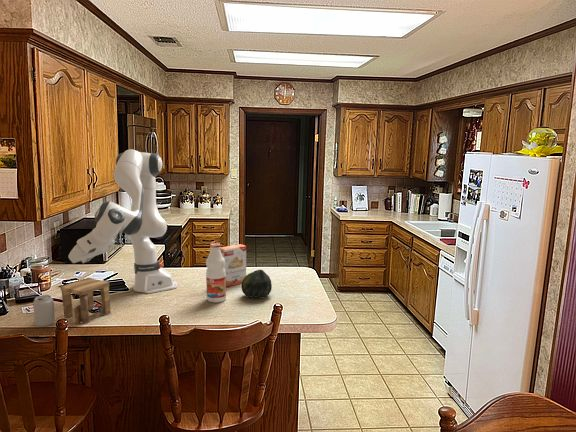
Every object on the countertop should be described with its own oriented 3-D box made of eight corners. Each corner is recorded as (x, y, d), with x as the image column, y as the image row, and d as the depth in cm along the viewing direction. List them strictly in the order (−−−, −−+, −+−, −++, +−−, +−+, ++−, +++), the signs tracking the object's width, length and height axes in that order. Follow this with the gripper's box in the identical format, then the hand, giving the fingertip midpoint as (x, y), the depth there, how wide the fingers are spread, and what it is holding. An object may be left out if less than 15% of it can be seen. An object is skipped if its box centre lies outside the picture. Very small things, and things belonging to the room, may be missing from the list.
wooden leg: (100, 314, 197) (98, 289, 195) (104, 315, 196) (103, 290, 194) (80, 322, 188) (77, 296, 186) (84, 323, 187) (82, 297, 185)
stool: (111, 312, 199) (109, 282, 196) (81, 325, 185) (78, 293, 183) (90, 307, 205) (88, 277, 203) (59, 319, 192) (57, 287, 189)
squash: (237, 281, 226) (243, 265, 215) (265, 279, 232) (271, 263, 221) (242, 306, 218) (248, 291, 207) (270, 303, 224) (278, 288, 213)
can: (32, 324, 187) (29, 297, 184) (50, 318, 192) (47, 292, 190) (40, 329, 182) (37, 301, 180) (58, 323, 188) (56, 296, 186)
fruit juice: (229, 297, 218) (228, 243, 213) (219, 304, 210) (218, 247, 205) (213, 295, 222) (212, 241, 217) (203, 301, 214) (201, 245, 209)
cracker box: (225, 287, 233) (224, 249, 229) (219, 284, 237) (218, 247, 234) (247, 282, 242) (246, 245, 238) (240, 279, 246) (240, 243, 242)
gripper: (113, 229, 191) (99, 249, 197) (74, 240, 173) (59, 262, 178) (122, 240, 190) (107, 259, 196) (84, 252, 172) (69, 273, 178)
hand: (84, 261), depth 187 cm, fingers closed
